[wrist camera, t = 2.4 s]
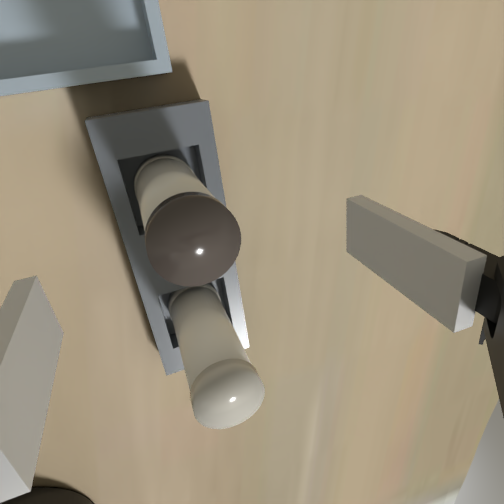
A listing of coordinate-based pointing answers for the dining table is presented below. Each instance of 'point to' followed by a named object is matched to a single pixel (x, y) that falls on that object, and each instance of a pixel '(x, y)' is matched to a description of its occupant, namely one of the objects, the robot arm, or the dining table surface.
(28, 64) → the parts tray
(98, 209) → the dining table surface
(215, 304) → the cylinder
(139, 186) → the cylinder
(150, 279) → the fuse strip
